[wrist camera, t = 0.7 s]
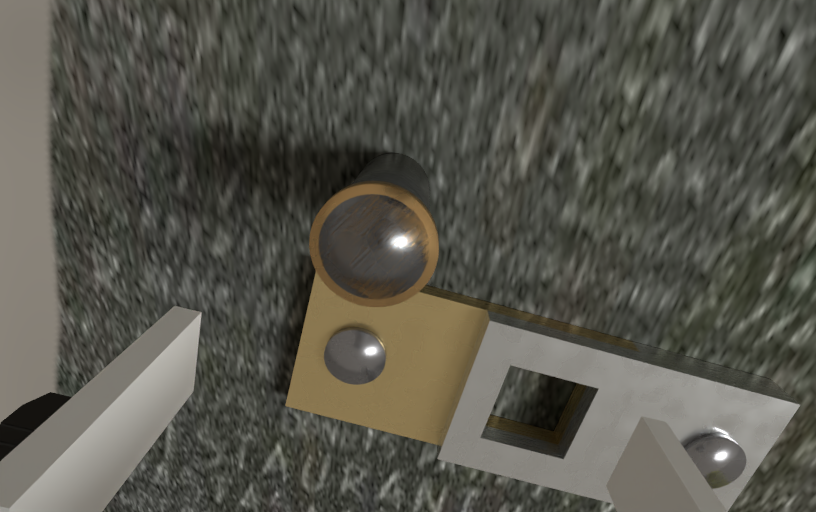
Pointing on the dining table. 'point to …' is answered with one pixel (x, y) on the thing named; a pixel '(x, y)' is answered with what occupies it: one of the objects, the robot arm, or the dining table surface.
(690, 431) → the link
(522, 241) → the dining table surface
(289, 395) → the link
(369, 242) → the pin
